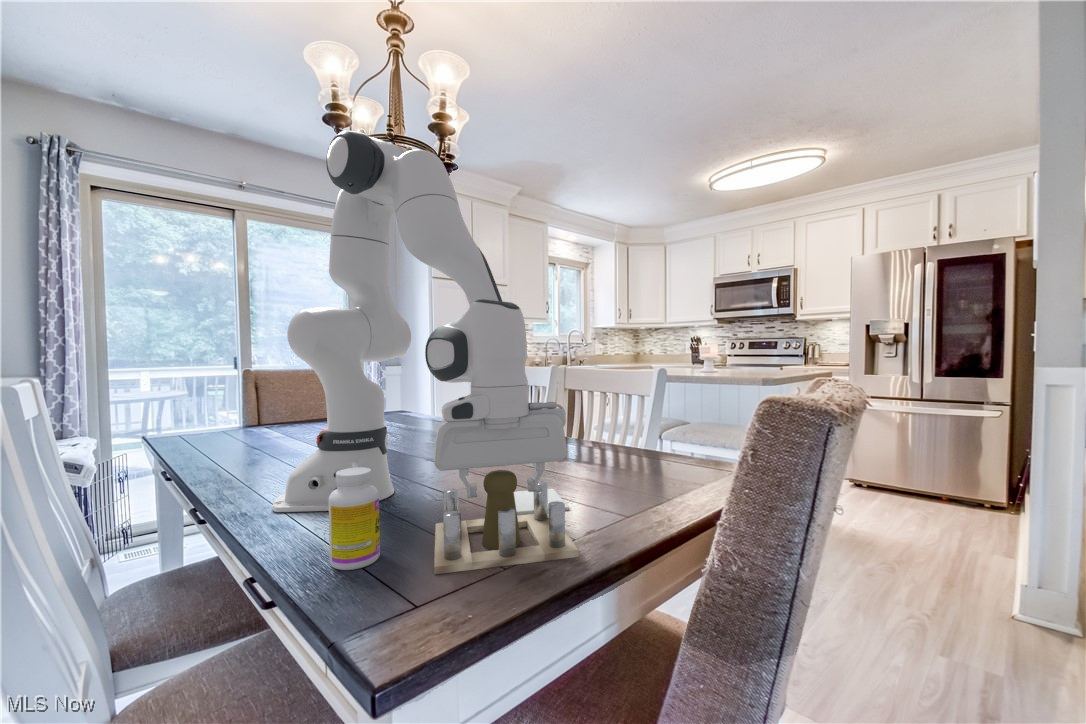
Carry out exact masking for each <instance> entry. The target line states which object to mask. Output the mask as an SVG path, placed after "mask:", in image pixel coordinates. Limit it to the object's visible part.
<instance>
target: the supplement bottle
mask: <svg viewBox="0 0 1086 724" xmlns="http://www.w3.org/2000/svg"><path fill="white" fill-rule="evenodd" d="M370 480H371V469H370V468H364V467H358V468H348V469H343V470H340V471H338V472H336V483H337V484H338V485H337V489H336V490H334V491H333V492H332V493H331V494H330V496H329V511H328V529H329V531H328V532H329V534H328V535H329V537H328V538H329V563H330V565H331V566H332V567H333V568H334V569H337V570H340V571H353V570H358V569H363V568H365V567H368V566H370V565H372V564H374V563H375V562H376V561H377V560H378V559H379V558H380V555H381V532H380V531H381V529H380V528H381V526H380V525H381V524H380V520H381V519H380V501H379V492H378V490H377V488H376V487H374V486H372V485H370Z"/></svg>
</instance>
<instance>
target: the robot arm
mask: <svg viewBox="0 0 1086 724" xmlns="http://www.w3.org/2000/svg"><path fill="white" fill-rule="evenodd" d="M326 153H327V154H326V162H325V164H326V172H327V174H328V175H329V178H330V181H331V182H332V183H333V184H334V186H336V187H338V188H339V189H340V191H339V192H338V194H337V197H336V198H337V199H336V202H335V205H334V210H333V215H332V221H331V228H330V229H331V230H330V240H329V241H330V242H329V243H330V244H329V245H330V247H329V258H328V259H329V263H328V274H329V276H330V278H331V280H332V282H334V284H335V285H337V286H338V287H339V288H340V289H342V290H344V291H345V292H346V295H347V296H348V299H349V302H350V308H342V307H333V306H332V307H331V306H322V307H320V306H319V307H312V308H306V309H304V308H303V309H300V310H298V311H297V312H296V313H295V314H294V315H293V317H292V318H291V320H290V321H289V324H288V328H287V335H286V337H287V342H288V344H289V347H290V349H291V350H292V352H293V353H294V354H295V356H296V357H298V358H299V359H301V360H302V361H303V362H305V363H306V364H307V365H308V366H309V367H310V368H311V369H312V370H313V371H314V373H315V374H316V376H317V378H318V379H319V381H320V384H321V386H322V389H323V391H324V396H325V407H326V408H325V409H326V418H327V419H326V422H327V428H323V430H321V431H320V432H319V434H318V435H317V436H316V438H315V440H316V441H315V443H316V444H317V445H316V447H317V450H315V451H314V452H313V453H312V454H310V455H309V456H308V457H307V458H306V459H304V460H303V461H302V462H301V463H300V464H298V465H297V466H296V467H294V469H293V470H292V471H291V472H290V474H289V476H288V478H287V481H286V487H285V491H284V492H283V493H281V494H280V495H279V496H277V497H276V498H275V499H274V500H273V503H272V512H275V513H291V512H292V513H296V512H297V513H298V512H327V511H328V512H329V496H330V494H331V493H332V492H333V491H334V490H336V489H337V485H338V484H337V483H336V472H338V471H340V470H343V469H348V468H358V467H364V468H370V469H371V480H370V485H372V486H374V487H376V488H377V490H378V492H379V502H380V501H382V500H384V499H387V498H389V497H390V496H392V495H393V494H394V493H395V489H394V486H393V483H392V482H393V481H392V480H391V474H390V471H389V464H388V463H389V462H388V458H387V453H388V450H389V446H388V445H389V443H388V442H389V438H388V437H389V436H388V435H389V434H388V427H387V426H386V425H385V424H386V423H385V394H384V390H383V389H382V388H381V386H380V385H379V384H377V383H376V382H374V381H372V380H370V379H369V378H368V377H367V376H366V374H365V373H364V370H363V368H362V362H365V363H367V362H385V361H390V360H393V359H397V358H400V357H403V356H404V355H405V354H407V351H408V350H409V348H410V346H411V341H412V333H411V328H410V325H409V324H408V322H407V321H406V319H405V318H404V317H403V316H402V315H401V314H400V313H399V311H398V310H397V307H396V306H395V304H394V301H393V299H392V296H391V292H390V288H389V280H388V279H389V278H388V276H389V275H388V273H389V269H388V268H389V247H390V226H391V221H392V218H393V217H394V215H395V218H396V221H397V228H398V231H399V234H400V237H401V240H402V243H403V244H404V246H405V248H406V250H407V251H408V252H409V254H411V255H412V256H413V257H414V258H416V259H417V260H418V261H420V262H421V263H423V264H425V265H427V266H429V267H431V268H433V269H435V270H437V271H438V272H440V273H442V274H444V275H446V276H447V277H449V278H450V279H451V280H453V281H454V282H455V283H456V284H457V285H458V286H459V287H460V288H461V290H463V293H464V294H465V297H466V299H467V301H468V305H469V308H468V309H467V311H466V312H465V313H464V314H462V315H461V316H459V317H458V318H457V319H455V320H453V321H451V322H449V323H447V324H445V325H440V326H438V327H436V328H435V329H434V330H433V331H432V332H431V333H430V335H429V336H428V338H427V341H426V344H425V348H424V349H425V351H424V353H425V355H424V356H425V362H426V366H427V368H428V370H429V372H430V374H432V376H433V377H435V379H436V380H438V381H440V382H444V383H449V384H450V383H455V384H457V383H470V393H469V394H468V395H465V396H461V397H458V398H457V399H453V400H451V401H447V402H445V403H444V404H443V405H442V407H441V417H442V418H443V420H442V421H441V422H440V423H439V425H438V427H437V431H436V436H435V444H434V466H435V467H436V468H437V470H438V471H442V472H443V471H445V472H446V471H455V470H458V476H459V478H460V480H461V482H463V485H464V486H465V487H466V498H467V499H472V498H477V497H478V493H477V491H478V487H477V483H471V482H470V480H469V479H468V476H469V472H470V471H469V469H470V470H471V469H480V468H492V467H493V468H494V467H504V466H506V467H507V466H516V465H517V466H518V465H529V464H533V465H532V466H533V468H534V469H535V470H534V472H533V474H532V476H531V477H530V478H526V483H527V485H526V489H527V490H526V491H528V492H537V491H538V482H540V480H541V477H542V476H543V474H544V472H545V468H546V465H545V464H546V463H551V462H552V463H553V462H562V461H564V459H565V457H566V456H567V455H568V454H567V452H568V451H567V440H566V435H565V430H564V429H565V428H564V427H565V426H566V421H567V419H566V417H567V416H566V410H565V408H564V407H563V406H562V405H561V404H559V403H557V402H556V401H547V402H538V401H537V402H529V381H528V377H527V373H526V362H527V359H528V344H527V343H528V341H527V340H528V339H527V332H526V331H527V330H526V323H525V318H524V315H523V314H524V313H523V312H522V310H521V307H519V306H518V305H517V304H515V303H513V302H509V301H503V300H502V299H503V298H502V296H501V293H500V291H499V288H498V286H497V282H496V281H495V278H494V275H493V273H492V270H491V268H490V266H489V263H488V260H487V259H486V256H485V255H484V253H483V252H482V250H481V249H480V247H479V246H478V245H477V243H476V241H474V238H473V236H472V235H471V233H470V232H469V229H468V227H467V224H466V223H465V220H464V218H463V215H462V213H461V208H460V205H459V204H460V203H459V200H458V198H457V194H456V192H455V188H454V185H453V183H452V179H451V177H450V175H449V173H448V171H447V169H446V166H445V165H444V163H443V161H442V160H441V159H440V158H439V157H438V156H437V155H436V154H435V153H433V152H431V151H428V150H425V149H411V150H408V149H406V148H404V147H402V146H400V145H398V144H392V143H390V142H388V141H384V140H381V139H378V138H375V137H372V136H369V135H368V134H367V133H365V132H360V131H356V130H355V131H354V130H343V131H341V132H339V133H338V134H336V135H335V136H334V137H333V138H332V140H331V141H330V143H329V146H328V148H327V151H326Z"/></svg>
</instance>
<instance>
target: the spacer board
mask: <svg viewBox="0 0 1086 724" xmlns="http://www.w3.org/2000/svg"><path fill="white" fill-rule="evenodd" d="M517 518H518V525H519V529H520V528H521V529H522V528H527V529H528V531H529V534H530V535H531V538H532V539H533V541H534V543H535V545H529V546H521V547H516V554H515V555H514V556H512V557H501V556H500V555H499V550H485V551H476V552H472V551H471V546H470V545H471V544H470V540H469V539H470V537H469V534H472V533H480V532H481V533H483V529H484V520H485V518H476V519H470V520H469V519H467V520H461V545H462V557H461V558H459V559H457V560H446V559H444V525H443V522H437V523H435V527H434V529H435V531H434V532H435V533H434V558H433V559H434V560H433V561H434V565H433V567H434V570H433V571H434V572H433V573H434V575H439V574H440V575H441V574H448V573H457V572H465V571H473V570H482V569H489V568H491V569H492V568H497V567H508V566H515V565H523V564H532V563H539V562H548V561H557V560H565V559H572V558H573V559H574V558H579V556H580V555H579V554H580V551H579V548H578V547H577V545H576V543H574V541H573V540H572V538H571V537H570V536H569V535H568V533H567V532H566V531H565V546H564V547H562V548H552V547H550V546H549V514H548V519H547V520H545V521H536V520H534V513H533V514H523V515H517Z"/></svg>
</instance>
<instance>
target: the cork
mask: <svg viewBox="0 0 1086 724" xmlns="http://www.w3.org/2000/svg"><path fill="white" fill-rule="evenodd" d="M517 486H518V479H517V476H516V474H515V472H513V471H511V470H507V469H497V470H496V469H495V470H491V471H489V472H488V473H486V474H485V476H484V479H483V489H484V491H485V493H486V503H485V513H484V519H485V520H484V529H483V531H482V540H481V545H482V547H484V548H485V549H487V550H489V551H493V550H499V534H498V511H499V510H500V509H504V508H511V509H514V510H515V527H516V548H518V547H519V546H520V545H521V543H522V539H521V538H522V537H521V534H520V533H521V532H520V528H519V525H518V518H517V511H516V505H515V498H514V492H516V489H517V488H518V487H517Z"/></svg>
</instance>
